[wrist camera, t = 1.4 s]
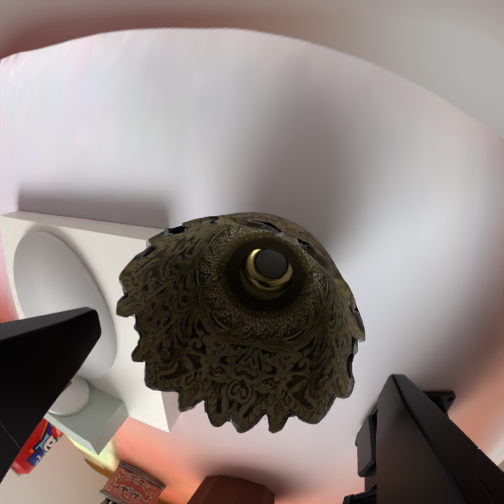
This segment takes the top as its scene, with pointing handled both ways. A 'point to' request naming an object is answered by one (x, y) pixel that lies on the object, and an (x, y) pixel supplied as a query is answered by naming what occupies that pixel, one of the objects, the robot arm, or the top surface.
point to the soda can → (36, 447)
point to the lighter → (131, 487)
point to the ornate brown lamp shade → (242, 321)
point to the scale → (94, 296)
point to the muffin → (231, 492)
